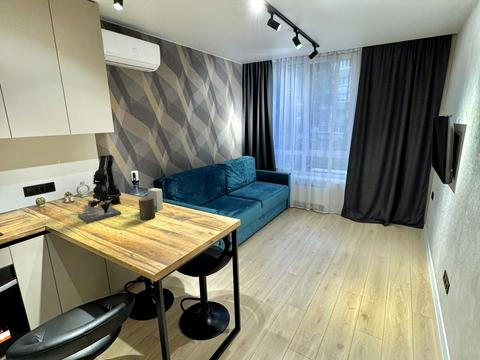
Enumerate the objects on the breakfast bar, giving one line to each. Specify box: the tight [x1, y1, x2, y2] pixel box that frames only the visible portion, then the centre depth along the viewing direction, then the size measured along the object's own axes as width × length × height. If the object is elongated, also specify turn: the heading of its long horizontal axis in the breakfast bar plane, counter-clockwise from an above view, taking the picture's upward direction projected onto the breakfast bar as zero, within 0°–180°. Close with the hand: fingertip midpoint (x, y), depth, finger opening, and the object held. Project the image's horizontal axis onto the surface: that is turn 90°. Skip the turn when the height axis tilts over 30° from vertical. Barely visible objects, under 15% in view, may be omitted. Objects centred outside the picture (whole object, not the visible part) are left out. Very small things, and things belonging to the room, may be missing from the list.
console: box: [77, 206, 122, 225], centre depth 181 cm, size 22×18×2 cm
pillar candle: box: [137, 195, 156, 221], centre depth 175 cm, size 10×10×15 cm
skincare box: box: [147, 187, 164, 213], centre depth 190 cm, size 8×7×16 cm
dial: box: [82, 204, 96, 214], centre depth 181 cm, size 6×3×6 cm, turn 137°
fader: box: [97, 208, 104, 216], centre depth 176 cm, size 2×3×4 cm
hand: (105, 212), depth 178 cm, fingers closed
